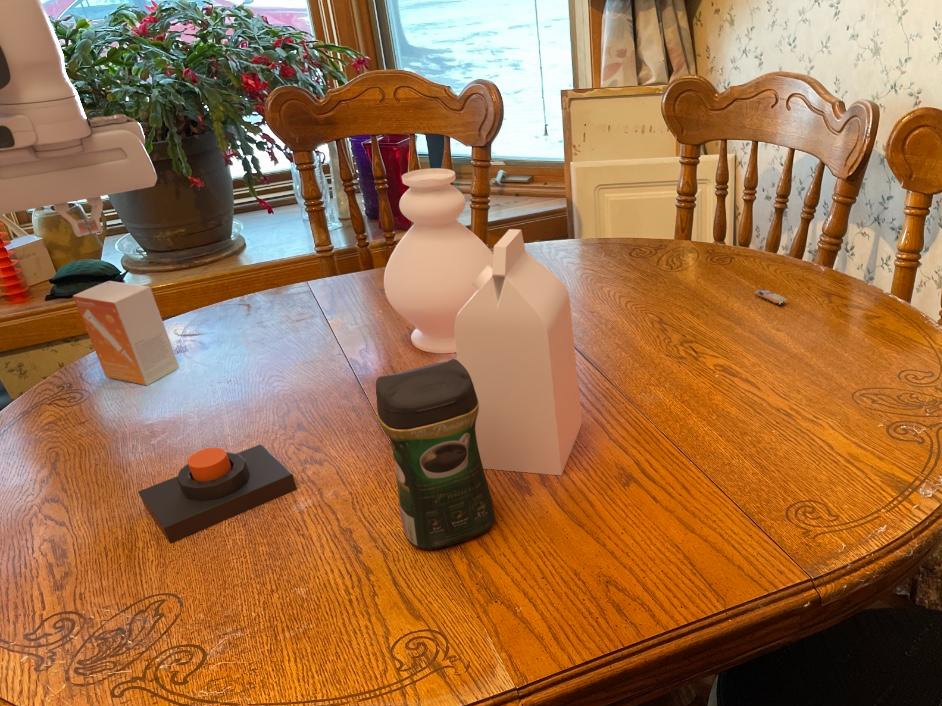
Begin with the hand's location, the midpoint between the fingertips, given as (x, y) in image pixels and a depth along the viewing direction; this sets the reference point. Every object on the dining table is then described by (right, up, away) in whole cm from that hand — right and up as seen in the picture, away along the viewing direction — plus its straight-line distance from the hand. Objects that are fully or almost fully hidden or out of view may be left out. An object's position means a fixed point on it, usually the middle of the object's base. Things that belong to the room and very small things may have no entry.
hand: (89, 233), depth 104 cm
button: (+25, -32, -18) cm, 44 cm away
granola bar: (+98, -3, +29) cm, 102 cm away
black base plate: (+25, -35, -16) cm, 46 cm away
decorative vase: (+45, -11, +20) cm, 50 cm away
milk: (+59, -28, -8) cm, 66 cm away
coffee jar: (+52, -37, -21) cm, 68 cm away
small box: (0, -18, +12) cm, 21 cm away
